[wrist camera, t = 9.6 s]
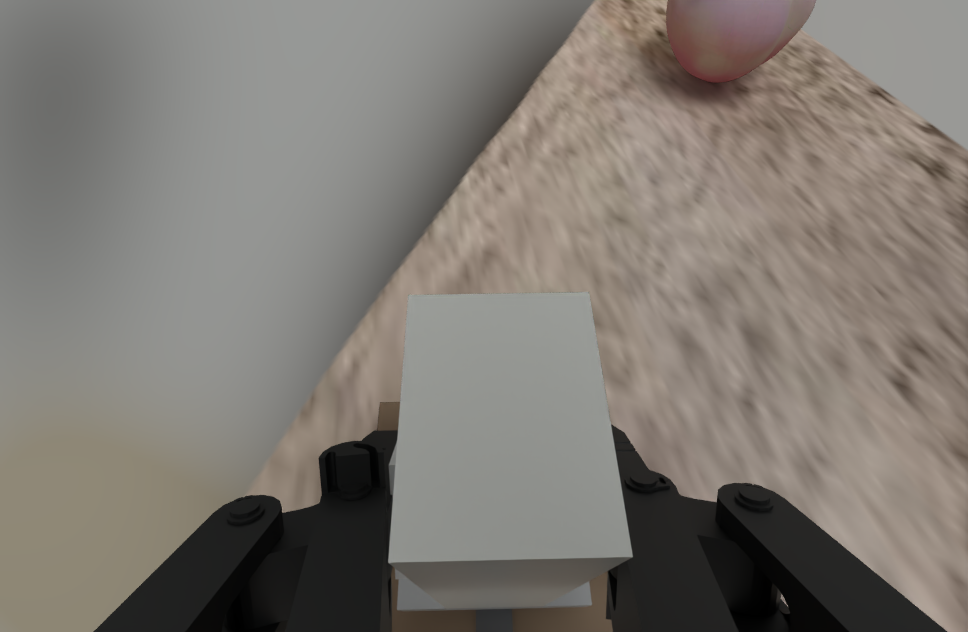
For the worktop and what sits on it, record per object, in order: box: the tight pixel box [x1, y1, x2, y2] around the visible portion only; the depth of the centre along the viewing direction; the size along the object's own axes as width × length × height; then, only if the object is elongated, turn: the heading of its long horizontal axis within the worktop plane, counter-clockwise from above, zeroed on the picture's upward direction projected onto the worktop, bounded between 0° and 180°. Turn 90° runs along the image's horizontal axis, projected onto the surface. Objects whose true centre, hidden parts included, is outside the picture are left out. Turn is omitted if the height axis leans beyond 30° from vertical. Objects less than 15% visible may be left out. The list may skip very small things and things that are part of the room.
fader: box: [388, 292, 633, 611], centre depth 12 cm, size 4×6×12 cm, turn 91°
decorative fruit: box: [666, 0, 816, 83], centre depth 33 cm, size 9×8×10 cm
